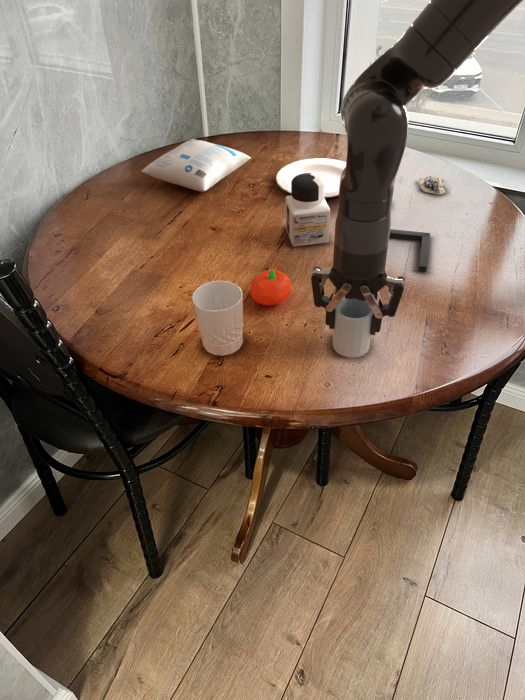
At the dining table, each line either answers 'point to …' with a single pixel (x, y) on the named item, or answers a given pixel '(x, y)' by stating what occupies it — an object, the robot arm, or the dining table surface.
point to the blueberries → (432, 185)
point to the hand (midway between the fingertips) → (352, 328)
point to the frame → (419, 237)
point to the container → (307, 211)
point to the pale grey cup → (352, 327)
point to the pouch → (196, 164)
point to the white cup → (219, 316)
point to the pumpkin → (270, 287)
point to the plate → (319, 166)
